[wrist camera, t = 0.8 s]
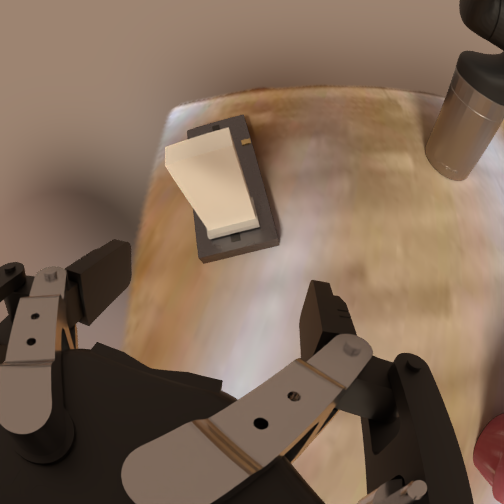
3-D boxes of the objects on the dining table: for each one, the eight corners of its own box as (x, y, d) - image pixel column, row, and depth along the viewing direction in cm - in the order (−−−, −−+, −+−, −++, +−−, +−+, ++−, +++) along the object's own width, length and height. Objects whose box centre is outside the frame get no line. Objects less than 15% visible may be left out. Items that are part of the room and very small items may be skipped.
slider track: (279, 245, 35) (277, 238, 33) (203, 263, 36) (198, 257, 34) (245, 122, 44) (243, 113, 42) (190, 138, 45) (186, 129, 43)
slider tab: (259, 226, 34) (236, 151, 21) (209, 239, 34) (162, 173, 22) (253, 200, 35) (229, 121, 23) (206, 212, 36) (163, 142, 23)
